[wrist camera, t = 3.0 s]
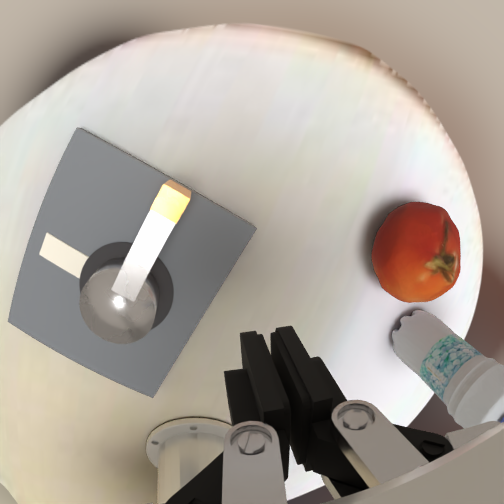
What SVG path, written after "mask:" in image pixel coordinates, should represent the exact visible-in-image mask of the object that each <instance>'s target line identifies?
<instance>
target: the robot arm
mask: <svg viewBox="0 0 504 504" xmlns="http://www.w3.org/2000/svg"><path fill="white" fill-rule="evenodd" d="M240 342H241V354H242V366H243V369H238V370H230V371H224V376H225V384H226V391H227V398H228V404H229V410H230V416H231V421H232V426H230V425H228V424H226V423H224V422H220V421H217V420H212V419H206V418H184V419H178V420H174V421H170V422H167V423H165V424H163V425H161V426H159V427H157V428H156V429H155V430H153V431H152V433H151V434H150V435H149V436H148V439H147V442H146V454H147V457H148V459H149V460H150V462H151V463H152V464H153V465H154V466H155V467H156V468H158V486H157V504H287V499H286V491H285V484H284V482H285V481H286V479H287V478H288V468H289V450H290V446H291V449H292V451H293V454H294V457H295V460H296V462H297V464H298V465H300V464H303V465H304V468H305V471H306V472H307V471H311V470H313V472H315V473H318V474H321V477H322V480H323V482H324V484H325V485H326V487H327V488H328V490H329V491H330V493H331V495H332V496H333V498H334V499H335V500H332V501H329V502H325V503H321V504H504V422H502V423H501V422H498V421H488V422H485V423H482V424H479V425H475V426H472V427H468V428H465V429H462V430H458V431H454V432H450V433H447V434H446V436H445V437H443V436H441V435H438V434H435V433H430V432H426V431H421V430H416V429H411V428H408V427H403V426H399V425H395V424H392V423H391V422H390V421H389V420H388V419H387V418H386V417H385V416H384V415H383V414H382V413H381V412H380V411H379V410H378V409H377V408H376V407H375V406H374V405H373V404H371V403H368V402H366V401H362V400H349V401H347V399H346V398H345V396H344V395H343V393H342V391H341V390H340V388H339V387H338V385H337V383H336V382H335V380H334V379H333V377H332V375H331V374H330V372H329V370H328V369H327V367H326V366H325V364H324V362H323V361H322V359H321V358H320V357H313V358H310V356H309V355H308V353H307V351H306V349H305V348H304V346H303V344H302V343H301V341H300V339H299V337H298V336H297V334H296V332H295V330H294V329H293V327H292V326H286V327H279V328H276V331H275V332H273V333H271V355H270V352H269V350H268V347H267V345H266V342H265V340H264V337H263V335H262V334H258V335H257V333H256V331H250V332H243V333H240ZM148 504H153V503H148Z"/></svg>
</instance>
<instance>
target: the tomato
mask: <svg viewBox="0 0 504 504" xmlns="http://www.w3.org/2000/svg"><path fill="white" fill-rule="evenodd" d="M372 263H373V267H374V271H375V273H376V275H377V277H378V279H379V281H380V284H381V287H382V288H383V289H384V290H385V291H386V292H388V293H389V294H390V295H392V296H393V297H395V298H397V299H398V300H401V301H403V302H409V303H411V302H428V301H432V300H434V299H436V298H438V297H439V296H441V295H443V294H444V293H445V292H447V291H448V290H449V289H451V288H452V287H453V286H454V284H455V283H456V281H457V279H458V276H459V273H460V237H459V231H458V229H457V227H456V225H455V224H454V223H453V221H452V220H451V218H450V216H449V214H448V213H447V211H446V210H445V209H443V208H442V207H440V206H436V205H432V204H429V203H424V202H410V203H407V204H404V205H402V206H399V207H398V208H396V209H395V210H393V211H392V212H391V213H389V214H388V216H387V218H386V219H385V221H384V223H383V224H382V226H381V227H380V229H379V230H378V232H377V234H376V238H375V241H374V245H373V249H372Z"/></svg>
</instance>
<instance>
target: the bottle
mask: <svg viewBox="0 0 504 504" xmlns="http://www.w3.org/2000/svg"><path fill="white" fill-rule="evenodd" d="M400 322H401V327H400V329H399V330H398V329H395V330H393V333H392V338H393V341H394V343H393V349H394V352H395V353H396V355H397V356H398V357H399V358H400V359H401V360H402V361H403V362H404V363H405V364H406V365H407V366H408V367H409V368H410V369H411V370H413V371H414V372H415V373H416V374H417V375H418V376H420V377H421V379H422V380H423V381H424V382H425V383H426V384H427V385H428V386H429V387H430V388H431V389H432V390H433V391H434V393H436V395H437V396H438V397H439V398H440V399H441V400H442V401H443V402H444V403H445V404H446V405H447V409H448V413H449V414H450V415H452V416H453V417H454V419H455V422H456V423H458V424H460V425H461V426H462V427H463V428H468V427H472V426H475V425H479V424H482V423H485V422H488V421H498V422H501V423H502V422H504V366H503V365H501V364H498V363H497V362H496V361H495V360H494V359H492V358H486V357H485V356H483V355H482V354H481V353H480V352H478V351H477V350H476V349H475V348H473V347H472V346H471V345H469V344H468V343H467V342H466V341H464V340H463V339H462V338H460V337H459V336H458V335H456V334H455V333H454V332H453V331H452V330H451V329H450V328H449V327H447V326H446V325H445V324H444V323H443V322H442V321H441V320H440V319H438V318H437V317H436V316H434V315H433V314H430V313H428V312H425V311H422V310H415V311H413V312H412V316H403V317H402V318H401V319H400Z"/></svg>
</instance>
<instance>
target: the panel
mask: <svg viewBox="0 0 504 504" xmlns="http://www.w3.org/2000/svg"><path fill="white" fill-rule="evenodd" d="M170 179H171V180H172V181H174V182H176V183H178V184H179V185H181V186H183V187H185V188H187V189H188V190H190V191H191V198H190V201H189V202H188V204H187V206H186V208H185V209H184V211H183V213H182V215H181V216H180V218H179V220H178V222H177V223H176V224H175V225H174V227H173V229H172V231H171V232H170V234H169V236H168V238H167V240H166V241H165V243H164V245H163V247H162V249H161V251H160V253H159V254H158V256H157V258H156V260H155V262H154V264H153V266H152V268H151V270H150V271H151V272H152V274H153V275H154V277H155V278H156V281H157V283H158V287H159V300H158V305H157V310H156V314H155V319H154V323H153V325H152V328H151V329H150V331H149V332H148V333H147V335H146V336H144V337H143V338H142V339H140V340H138V341H136V342H133V343H129V344H116V343H111V342H108V341H106V340H104V339H102V338H100V337H98V336H97V335H96V334H94V333H93V332H92V331H91V330H90V329H89V327H88V326H87V325H86V323H85V322H84V320H83V318H82V315H81V312H80V306H79V300H80V294H81V291H82V289H83V287H84V286H85V284H86V283H87V282H88V280H89V279H90V278H91V276H92V275H93V274H94V273H95V271H96V270H97V269H98V268H99V267H100V266H101V265H102V264H103V263H104V262H106V261H108V260H110V259H113V258H119V257H125V258H126V257H127V255H128V253H129V251H130V249H131V247H132V245H133V243H134V241H135V239H136V237H137V235H138V233H139V231H140V229H141V227H142V225H143V223H144V222H145V220H146V218H147V216H148V214H149V212H150V208H151V207H152V205H153V203H154V201H155V199H156V197H157V196H158V194H159V192H160V190H161V188H162V187H163V185H164V184H165V183H166V182H167V181H169V180H170ZM256 229H257V228H256V227H255V226H254V225H252V224H251V223H249V222H247V221H245V220H244V219H242V218H240V217H239V216H237V215H235V214H233V213H232V212H230V211H228V210H227V209H225V208H223V207H221V206H220V205H218V204H216V203H214V202H213V201H211V200H209V199H208V198H206V197H204V196H202V195H201V194H199V193H197V192H195V191H194V190H192V189H190V188H188V187H187V186H185V185H183V184H181V183H179V182H178V181H176V180H174V179H172V178H171V177H169V176H167V175H165V174H164V173H162V172H160V171H158V170H156V169H155V168H153V167H151V166H149V165H147V164H146V163H144V162H142V161H140V160H138V159H137V158H135V157H133V156H131V155H129V154H128V153H126V152H124V151H122V150H120V149H119V148H117V147H115V146H113V145H111V144H109V143H108V142H106V141H104V140H102V139H100V138H98V137H97V136H95V135H93V134H91V133H89V132H87V131H85V130H84V129H82V128H76V130H75V132H74V134H73V136H72V138H71V140H70V142H69V144H68V146H67V148H66V150H65V152H64V154H63V156H62V158H61V160H60V163H59V165H58V167H57V169H56V171H55V174H54V176H53V178H52V180H51V183H50V185H49V188H48V190H47V192H46V195H45V197H44V200H43V202H42V205H41V208H40V210H39V213H38V216H37V218H36V221H35V224H34V227H33V230H32V233H31V236H30V239H29V242H28V245H27V248H26V251H25V254H24V258H23V261H22V265H21V268H20V272H19V275H18V279H17V283H16V287H15V291H14V295H13V300H12V304H11V309H10V313H9V318H8V322H9V323H11V324H12V325H14V326H15V327H17V328H18V329H20V330H21V331H23V332H25V333H26V334H28V335H29V336H31V337H33V338H34V339H36V340H38V341H39V342H41V343H43V344H44V345H46V346H48V347H49V348H51V349H53V350H55V351H56V352H58V353H60V354H62V355H64V356H65V357H67V358H69V359H71V360H73V361H75V362H76V363H78V364H80V365H82V366H84V367H86V368H88V369H90V370H92V371H94V372H96V373H98V374H100V375H102V376H104V377H106V378H108V379H111V380H113V381H115V382H117V383H119V384H121V385H124V386H126V387H128V388H130V389H133V390H135V391H137V392H140V393H142V394H144V395H147V396H149V397H152V398H153V397H154V396H155V394H156V392H157V391H158V389H159V387H160V386H161V384H162V382H163V381H164V379H165V377H166V376H167V374H168V372H169V371H170V369H171V367H172V366H173V364H174V363H175V361H176V359H177V358H178V356H179V354H180V353H181V351H182V349H183V348H184V346H185V344H186V343H187V341H188V340H189V338H190V336H191V335H192V333H193V331H194V330H195V328H196V326H197V325H198V323H199V322H200V320H201V318H202V317H203V315H204V313H205V312H206V310H207V308H208V307H209V305H210V304H211V302H212V300H213V299H214V297H215V295H216V294H217V292H218V291H219V289H220V287H221V286H222V284H223V282H224V281H225V279H226V278H227V276H228V274H229V273H230V271H231V269H232V268H233V266H234V265H235V263H236V261H237V260H238V258H239V256H240V255H241V253H242V252H243V250H244V248H245V247H246V245H247V244H248V242H249V240H250V239H251V237H252V235H253V234H254V232H255V231H256Z"/></svg>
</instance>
